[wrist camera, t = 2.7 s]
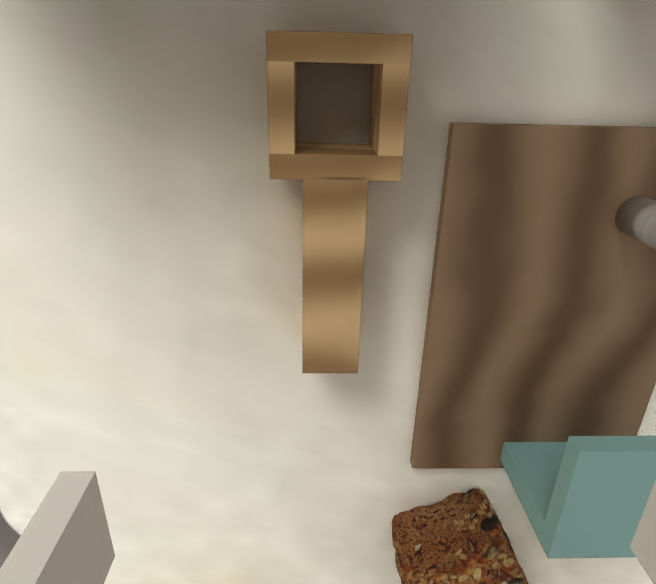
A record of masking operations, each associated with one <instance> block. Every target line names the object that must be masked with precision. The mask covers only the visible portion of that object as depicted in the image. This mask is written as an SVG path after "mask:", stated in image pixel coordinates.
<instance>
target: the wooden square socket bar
mask: <svg viewBox="0 0 656 584" xmlns="http://www.w3.org/2000/svg"><path fill="white" fill-rule="evenodd" d="M412 39H413V34H380V33H343V32H307V31H271V30H266V46H267V84H268V123H269V162H270V179H303V373H357V372H358V355H359V337H360V319H361V301H362V283H363V265H364V247H365V229H366V212H367V194H368V181H401V171H402V159H403V147H404V135H405V123H406V111H407V99H408V87H409V75H410V63H411V51H412ZM296 63H335V64H373V81H372V99H371V118H370V136H369V144H347V143H297V70H296Z"/></svg>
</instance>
